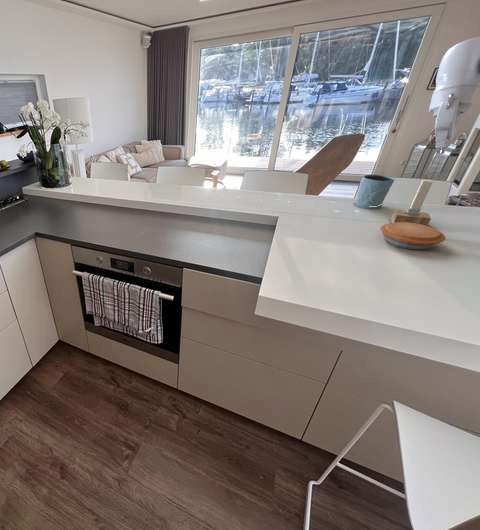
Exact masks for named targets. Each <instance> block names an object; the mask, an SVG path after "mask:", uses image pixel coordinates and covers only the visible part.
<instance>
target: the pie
mask: <svg viewBox="0 0 480 530" xmlns="http://www.w3.org/2000/svg"><path fill="white" fill-rule="evenodd" d="M379 229H380V231H381V233H382V235H383V238H384V240H385V241H386V242H387V243H388V244H390V245H392V246H396V247H399V248H403V249H406V250H407V249H408V250H427V249H430V248H432V247H434V246H435V245H438V244H440V243H443V242H444V241H445V240H446V238H447V237H446V235H445V234H444V233H443V232H441V231H440V230H437V229H436V228H434V227H431V226H429V225H428V226H425V225H422V224H416V223H409V222H394V223H392V222H390V223H385V224H383V225H381V226H380V228H379Z"/></svg>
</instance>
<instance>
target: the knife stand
mask: <svg viewBox="0 0 480 530" xmlns="http://www.w3.org/2000/svg"><path fill="white" fill-rule="evenodd" d="M407 212H408V210H401V209H395V210H394V211H393V214H392V216H391V219H390V221H391V223H394V222H409V223H416V224H422V225H425V226H429V225H430V222H431V220H432V217H431V215H430V213H429V212H424V211H423V212H422V211H420V212H419V214H418V215H412V214H407Z"/></svg>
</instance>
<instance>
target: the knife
mask: <svg viewBox="0 0 480 530" xmlns="http://www.w3.org/2000/svg"><path fill="white" fill-rule="evenodd" d="M433 182H434V181H433V180H432V179H422V180H421V181H420V183H419V186H418V188H417V191H416V193H415V196H414V198H413V200H412V202H411V204H410V206H409V208H408V210H407V211H408V212H407V214H412V215H418V214H419V212H421V208H422V206H423V204H424V202H425V200H426V198H427V196H428V193H429V191H430V189H431V187H432V185H433Z"/></svg>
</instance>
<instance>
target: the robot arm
mask: <svg viewBox="0 0 480 530" xmlns="http://www.w3.org/2000/svg"><path fill="white" fill-rule="evenodd" d="M478 88H480V35H479V36H475V37H470V38H467V39H464V40H462V41H460V42H458V43H457V44H455V45H453V46H451V47H450V48H449V49H448V50H447V51H446V52H445V54H444V55H443V56H442V59H441V61H440V63H439V66H438V69H437V74H436V77H435V89H434V91H433V92H432V95H431V100H430V103H429V108H428V113H429V114H431V115H432V116H433V117H432V118H434V119H435V122H434V135H435V137H434V138H435V149H436V151H435V154H436V155H437V156H438V155H444V154H445V152H446V148H447V146H448V142H451V141H453V138H454V137H455V134H456V131H457V130H458V126H459V124H460V121H461V119H462V117H463V115H465V114H466V112H467V111H468V110H469V109H470V108H471V107H472V106H474V101H475V98H476V97H475V96H476V93H477V89H478Z"/></svg>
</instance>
